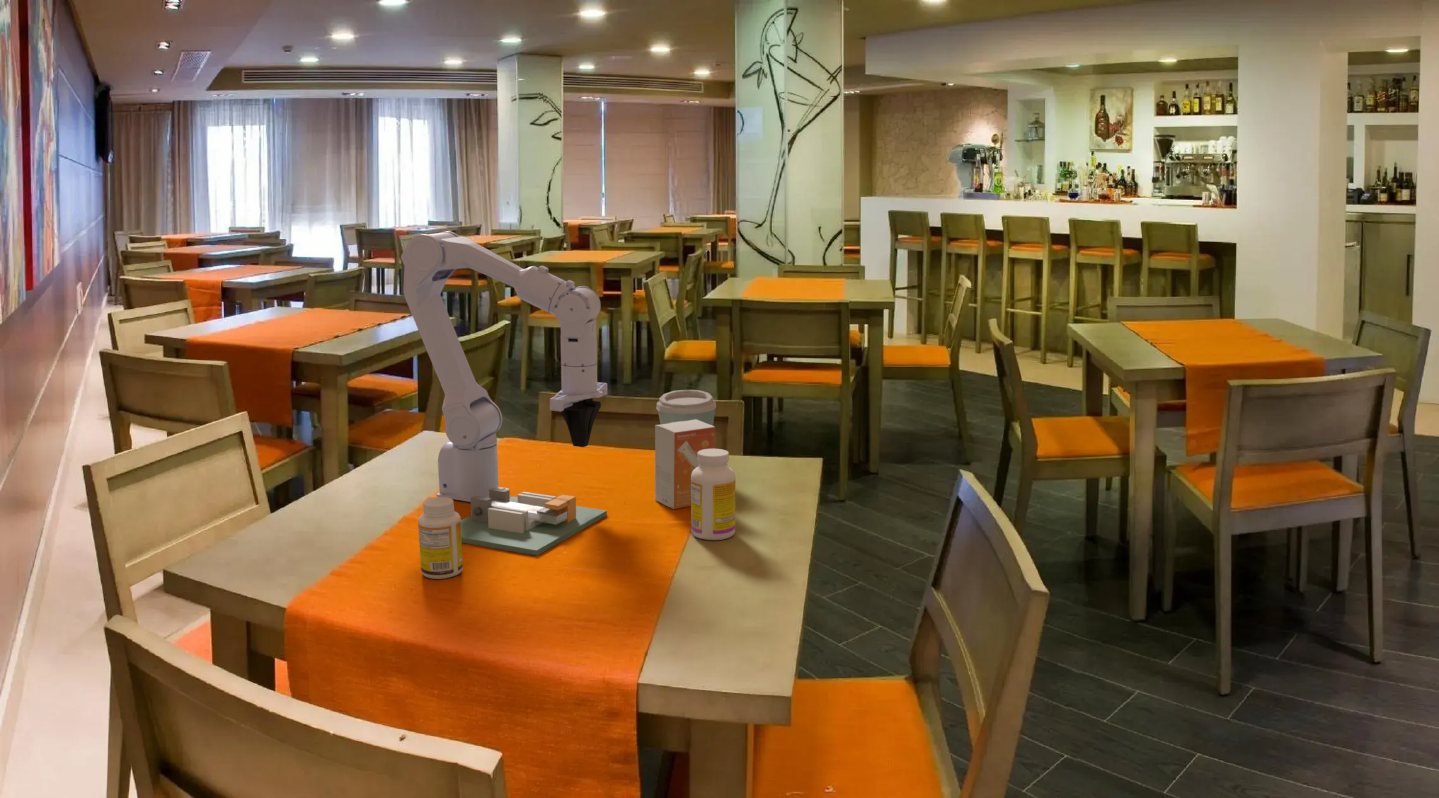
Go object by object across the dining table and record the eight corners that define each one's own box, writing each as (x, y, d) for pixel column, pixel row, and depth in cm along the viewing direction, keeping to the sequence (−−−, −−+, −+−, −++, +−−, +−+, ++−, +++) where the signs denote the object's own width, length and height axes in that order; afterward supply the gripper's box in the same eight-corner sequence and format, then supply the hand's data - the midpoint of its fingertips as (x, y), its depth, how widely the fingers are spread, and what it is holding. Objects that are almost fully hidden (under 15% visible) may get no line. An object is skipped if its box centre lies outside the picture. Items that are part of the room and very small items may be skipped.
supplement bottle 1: (446, 562, 151) (443, 492, 149) (471, 572, 148) (468, 500, 145) (412, 573, 147) (408, 501, 145) (437, 583, 143) (433, 510, 141)
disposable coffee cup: (715, 485, 188) (716, 401, 185) (654, 485, 188) (653, 401, 185) (716, 469, 198) (717, 389, 195) (658, 468, 199) (657, 388, 195)
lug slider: (576, 518, 168) (575, 496, 167) (558, 527, 163) (558, 505, 162) (562, 516, 169) (562, 494, 168) (545, 525, 164) (544, 503, 163)
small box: (674, 510, 175) (673, 432, 172) (654, 500, 180) (653, 424, 177) (715, 502, 179) (716, 425, 176) (695, 492, 184) (695, 418, 181)
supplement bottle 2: (740, 530, 165) (741, 448, 163) (727, 543, 159) (727, 459, 156) (699, 525, 167) (700, 444, 165) (684, 538, 161) (684, 455, 159)
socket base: (434, 537, 161) (433, 509, 160) (512, 500, 179) (511, 475, 178) (536, 555, 154) (535, 526, 153) (606, 515, 172) (606, 488, 171)
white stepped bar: (484, 511, 167) (484, 502, 167) (496, 506, 170) (496, 497, 169) (556, 524, 162) (556, 514, 162) (567, 518, 165) (567, 509, 164)
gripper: (576, 373, 165) (578, 459, 168) (623, 358, 178) (623, 438, 181) (537, 369, 168) (539, 454, 171) (586, 355, 181) (587, 433, 184)
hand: (580, 445), depth 176 cm, fingers closed
